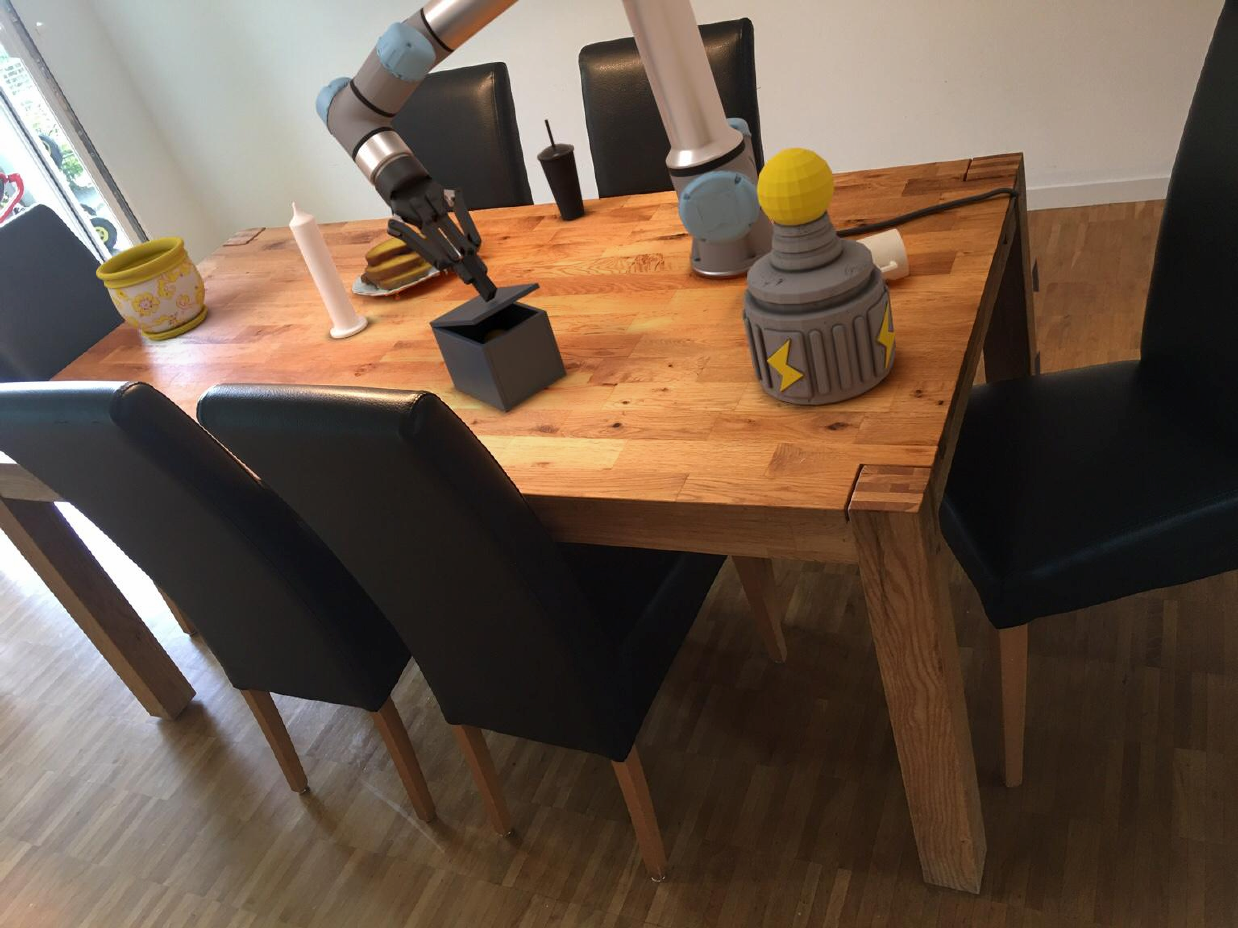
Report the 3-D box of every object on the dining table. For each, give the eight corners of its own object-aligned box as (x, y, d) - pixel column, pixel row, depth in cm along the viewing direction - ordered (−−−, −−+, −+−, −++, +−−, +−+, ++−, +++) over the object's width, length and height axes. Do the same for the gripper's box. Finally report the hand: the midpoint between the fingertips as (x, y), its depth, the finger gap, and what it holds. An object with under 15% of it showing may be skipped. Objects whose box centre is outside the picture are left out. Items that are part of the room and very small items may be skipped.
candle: (374, 318, 192) (320, 192, 178) (355, 337, 186) (297, 208, 173) (344, 321, 195) (289, 197, 181) (324, 339, 189) (265, 213, 176)
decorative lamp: (795, 330, 146) (757, 124, 130) (922, 341, 135) (898, 116, 119) (729, 400, 135) (679, 184, 119) (862, 418, 124) (827, 182, 108)
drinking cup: (587, 220, 206) (559, 122, 196) (551, 226, 209) (522, 130, 198) (595, 205, 212) (569, 110, 202) (561, 211, 215) (533, 117, 204)
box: (567, 374, 153) (546, 310, 147) (505, 412, 148) (481, 348, 142) (514, 353, 164) (492, 293, 158) (455, 388, 159) (430, 327, 153)
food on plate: (412, 308, 191) (399, 277, 187) (330, 301, 206) (316, 272, 202) (498, 247, 206) (488, 217, 202) (416, 245, 221) (404, 216, 217)
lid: (540, 287, 145) (538, 282, 145) (474, 324, 140) (472, 319, 140) (492, 293, 158) (490, 288, 158) (431, 327, 153) (428, 322, 153)
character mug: (826, 313, 148) (915, 286, 146) (816, 268, 145) (907, 240, 143) (813, 288, 158) (896, 263, 156) (803, 245, 154) (888, 219, 153)
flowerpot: (199, 300, 228) (163, 232, 219) (232, 312, 215) (195, 240, 206) (124, 338, 219) (83, 269, 210) (153, 354, 206) (112, 280, 198)
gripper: (429, 170, 154) (523, 289, 151) (355, 205, 148) (451, 329, 145) (434, 138, 147) (532, 261, 144) (357, 173, 142) (457, 302, 139)
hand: (491, 295), depth 145 cm, fingers closed
